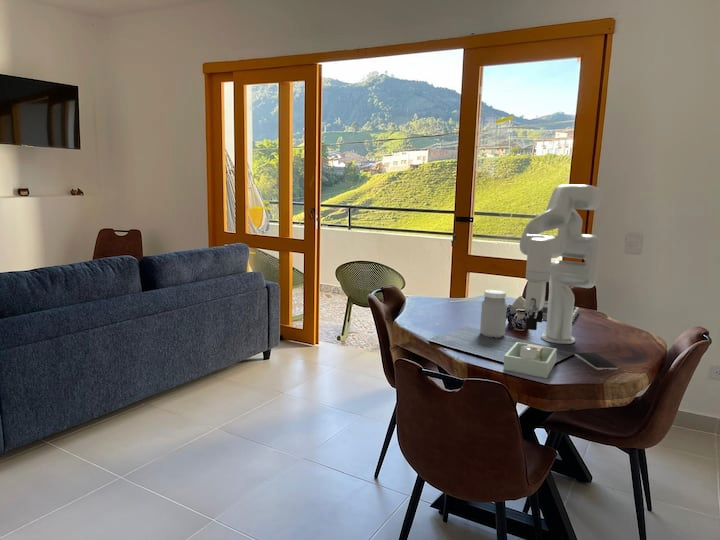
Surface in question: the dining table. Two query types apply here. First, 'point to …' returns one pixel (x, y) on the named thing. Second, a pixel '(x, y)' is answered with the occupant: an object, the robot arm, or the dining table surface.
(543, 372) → the tote
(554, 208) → the robot arm
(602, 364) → the smartphone
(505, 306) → the jar
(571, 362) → the dining table surface
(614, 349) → the dining table surface
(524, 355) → the aluminium cylinder
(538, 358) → the maple cube
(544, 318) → the speaker stand
